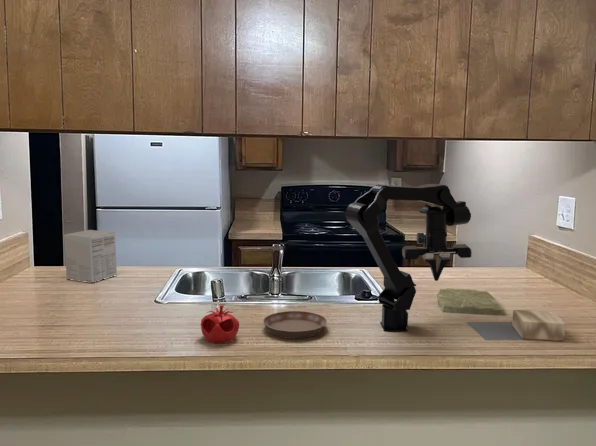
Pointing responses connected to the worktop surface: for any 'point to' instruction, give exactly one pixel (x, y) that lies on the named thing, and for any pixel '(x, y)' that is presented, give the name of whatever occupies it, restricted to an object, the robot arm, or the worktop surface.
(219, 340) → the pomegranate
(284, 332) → the plant saucer
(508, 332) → the rubber mat
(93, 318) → the worktop surface
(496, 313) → the decorative tile
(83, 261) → the supplement box
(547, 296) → the worktop surface
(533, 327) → the maple block
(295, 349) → the worktop surface
